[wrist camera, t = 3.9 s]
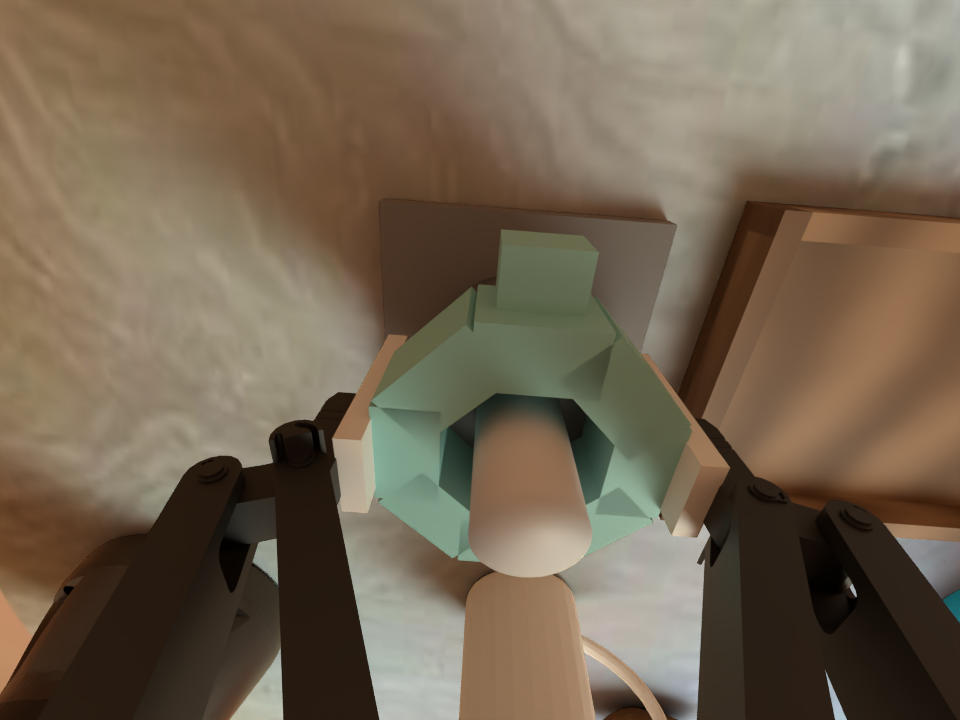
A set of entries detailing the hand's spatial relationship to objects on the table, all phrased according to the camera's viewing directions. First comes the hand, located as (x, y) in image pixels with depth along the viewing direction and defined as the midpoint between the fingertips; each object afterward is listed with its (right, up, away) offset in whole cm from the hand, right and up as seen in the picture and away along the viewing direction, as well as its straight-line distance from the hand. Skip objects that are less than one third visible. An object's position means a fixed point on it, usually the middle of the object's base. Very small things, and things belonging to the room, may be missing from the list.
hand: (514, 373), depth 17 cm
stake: (0, +2, +3) cm, 3 cm away
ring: (0, -1, -2) cm, 3 cm away
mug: (+4, -17, +13) cm, 22 cm away
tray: (+19, -1, +4) cm, 19 cm away
